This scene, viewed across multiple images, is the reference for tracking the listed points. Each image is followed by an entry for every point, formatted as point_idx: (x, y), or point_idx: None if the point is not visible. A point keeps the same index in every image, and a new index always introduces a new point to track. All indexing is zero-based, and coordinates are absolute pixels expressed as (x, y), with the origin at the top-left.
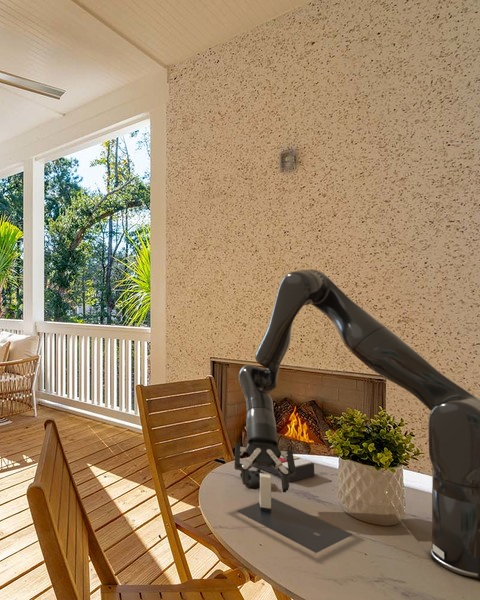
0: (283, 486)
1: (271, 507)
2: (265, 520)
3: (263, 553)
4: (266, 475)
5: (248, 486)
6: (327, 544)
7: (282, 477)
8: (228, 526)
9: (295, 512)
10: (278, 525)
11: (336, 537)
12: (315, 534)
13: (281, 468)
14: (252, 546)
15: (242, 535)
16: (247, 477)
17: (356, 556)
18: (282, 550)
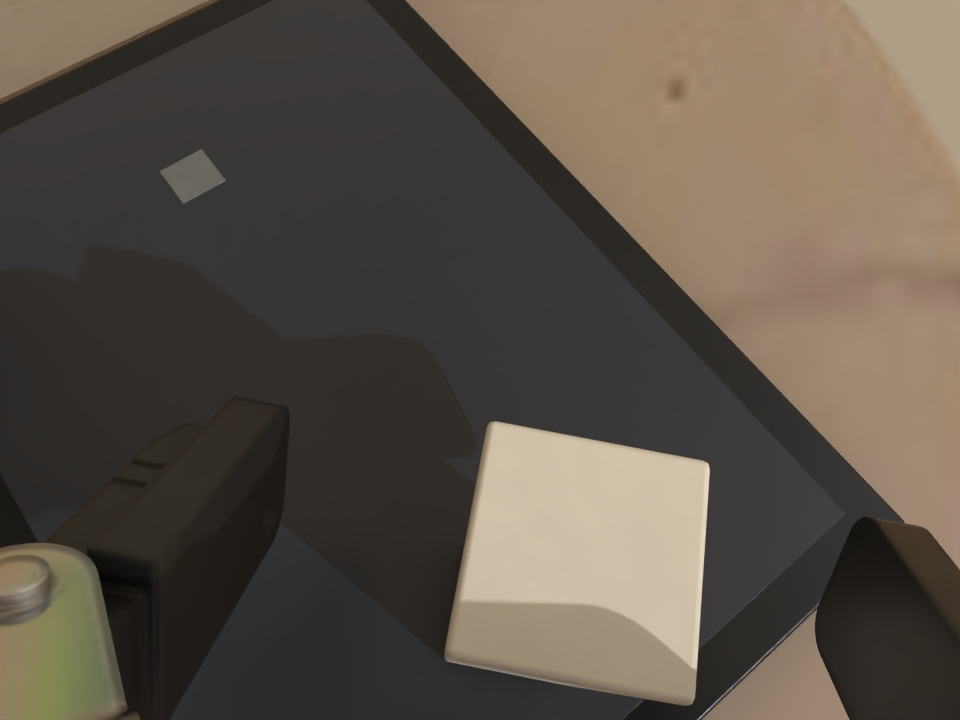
0: (272, 417)
1: (421, 667)
2: (574, 354)
3: (675, 6)
4: (564, 538)
5: (835, 570)
6: (191, 58)
7: (197, 515)
8: (899, 296)
9: None
10: (476, 280)
11: (47, 148)
12: (207, 170)
13: (68, 671)
14: (735, 65)
15: (792, 182)
16: (944, 594)
17: (46, 22)
18: (539, 42)
